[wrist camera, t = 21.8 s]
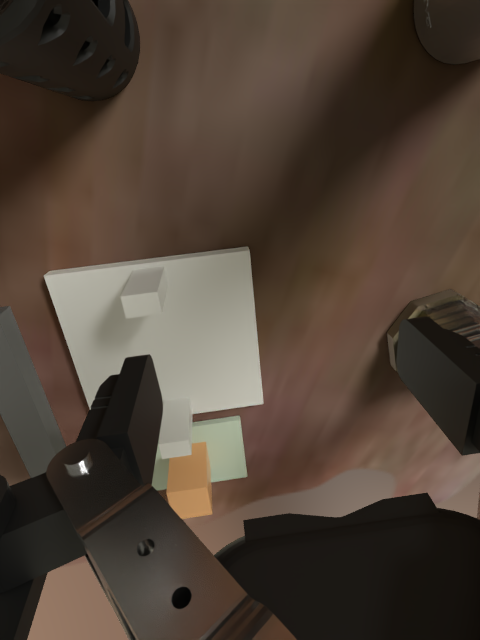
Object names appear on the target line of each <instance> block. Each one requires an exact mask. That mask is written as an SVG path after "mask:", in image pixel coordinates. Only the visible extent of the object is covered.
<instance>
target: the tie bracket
mask: <svg viewBox="0 0 480 640" xmlns="http://www.w3.org/2000/svg"><path fill="white" fill-rule="evenodd" d="M44 278H45V281H46V284H47V287H48V290H49V293H50V296H51V298H52V301H53V304H54V307H55V310H56V313H57V316H58V319H59V322H60V325H61V327H62V330H63V333H64V336H65V339H66V342H67V345H68V348H69V351H70V354H71V356H72V359H73V362H74V365H75V368H76V371H77V374H78V377H79V380H80V383H81V385H82V388H83V391H84V394H85V397H86V400H87V403H88V406H89V409H90V410H91V405H92V403H93V400H95V396H96V393H97V391H98V389H99V386H100V385H101V384H102V383H103V382H104V381H105V380H106V379H107V378H108V377H109V376H110V375H116V374H120V371H121V368H122V366H123V363H124V360H125V358H126V357H133V356H140V355H147V354H150V355H151V357H152V359H153V363H154V367H155V371H156V375H157V379H158V383H159V387H160V390H161V395H162V401H163V415H162V421H161V429H160V436H159V444H158V445H159V449H160V452H161V456H162V459H167V458H174V457H180V456H187V455H192V414H197V413H204V412H211V411H218V410H225V409H232V408H238V407H245V406H252V405H259V404H263V394H262V382H261V371H260V360H259V349H258V338H257V326H256V315H255V304H254V293H253V282H252V271H251V259H250V250H249V248H248V246H247V247H239V248H231V249H223V250H215V251H207V252H199V253H191V254H183V255H174V256H166V257H158V258H150V259H142V260H134V261H126V262H118V263H110V264H102V265H94V266H86V267H78V268H70V269H62V270H53V271H49V272H48V273H46V274H45V275H44Z"/></svg>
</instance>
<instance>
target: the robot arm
mask: <svg viewBox="0 0 480 640" xmlns="http://www.w3.org/2000/svg"><path fill="white" fill-rule="evenodd" d="M414 21H415V27H416V32H417V34H418V37H419V39H420V42H421V44H422V45H423V46H424V48H425V49H426V51H427V52H428V53H429V54H430V55H431V56H433V57H434V58H435V59H437V60H439V61H441V62H443V63H448V64H463V63H468V62H471V61H475V60H478V59H480V0H414ZM396 364H397V370H398V374H399V376H400V378H401V380H402V381H403V383H404V384H405V385H406V386H407V388H408V389H409V390H410V391H411V393H412V394H413V395H414V396H415V397H416V399H417V400H418V401H419V402H420V404H421V405H422V406H423V407H424V409H425V410H426V411H427V412H428V414H429V415H430V416H431V417H432V419H433V420H434V421H435V422H436V424H437V425H438V426H439V427H440V429H441V430H442V431H443V432H444V434H445V435H446V436H447V437H448V439H449V440H450V441H451V442H452V444H453V445H454V446H455V447H456V449H457V450H458V451H459V452H460V454H461V455H469V454H475V453H480V348H478V347H475V345H474V344H473V343H472V342H471V341H469V340H468V339H467V338H465V337H464V336H462V335H460V334H458V333H455V332H453V331H450V330H448V329H443V328H442V327H441V326H440V325H438V324H437V323H436V322H435V321H433V320H432V319H431V318H430V317H427V316H425V317H418V318H411V319H404V320H402V321H401V323H400V326H399V336H398V348H397V360H396ZM162 415H163V401H162V395H161V390H160V387H159V383H158V379H157V375H156V371H155V367H154V363H153V359H152V357H151V355H150V354H147V355H140V356H133V357H126V358H125V360H124V363H123V366H122V368H121V371H120V374H116V375H110V376H109V377H108V378H107V379H106V380H105V381H104V382H103V383H102V384H101V385H100V386H99V389H98V391H97V393H96V396H95V400H93V403H92V405H91V410H89V412H88V415H87V417H86V419H85V422H84V424H83V426H82V429H81V431H80V433H79V436H78V438H77V440H76V442H75V443H72V444H70V445H68V446H67V447H65V448H63V449H62V450H61V451H59V452H58V453H57V454H56V455H55V456H54V457H53V458H52V460H51V461H50V463H49V465H48V467H47V471H46V472H45V473H43V474H40V475H38V476H35V477H33V478H30V479H28V480H25V481H22V482H20V483H17V484H15V485H12V486H9V484H8V482H7V481H6V479H5V478H4V477H3V476H1V475H0V640H27V638H28V635H29V631H30V628H31V625H32V621H33V618H34V615H35V612H36V608H37V605H38V602H39V599H40V595H41V592H42V589H43V585H44V582H45V579H46V575H47V573H48V572H49V571H51V570H53V569H56V568H58V567H60V566H62V565H64V564H67V563H69V562H71V561H73V560H75V559H77V558H80V557H82V556H85V558H86V559H87V561H88V563H89V565H90V567H91V569H92V571H93V572H94V574H95V576H96V578H97V580H98V582H99V584H100V585H101V587H102V589H103V591H104V593H105V595H106V597H107V599H108V600H109V602H110V604H111V606H112V608H113V610H114V612H115V613H116V615H117V617H118V619H119V621H120V623H121V625H122V627H123V629H124V631H125V633H126V635H127V637H128V639H129V640H480V493H479V503H478V513H477V518H474V517H471V516H469V515H466V514H463V513H459V512H456V511H451V510H446V509H441V508H436V506H435V504H434V503H433V501H432V499H431V498H430V496H429V495H428V493H422V494H415V495H409V496H402V497H395V498H389V499H383V500H380V501H378V502H375V503H373V504H371V505H369V506H366V507H364V508H362V509H359V510H357V511H355V512H353V513H350V514H348V515H346V516H343V517H337V518H334V517H324V516H311V515H301V514H282V515H275V516H269V517H262V518H255V519H249V520H244V530H245V536H243V537H241V538H239V539H237V540H235V541H233V542H231V543H230V544H228V545H226V546H225V547H224V548H222V549H221V550H220V551H219V552H217V553H216V554H215V555H213V554H212V553H211V552H210V551H209V550H208V549H207V547H206V546H205V545H204V544H203V543H202V542H201V541H200V540H199V538H198V537H197V536H196V535H195V534H194V533H193V531H192V530H191V529H190V528H189V527H188V526H187V525H186V523H185V522H184V521H183V520H182V519H181V518H180V517H179V516H178V514H177V513H176V512H175V511H174V510H173V509H172V508H171V506H170V505H169V504H168V503H167V502H166V501H165V500H164V498H163V497H162V496H161V495H160V494H159V493H158V492H157V490H156V489H155V488H154V487H153V486H152V479H153V473H154V466H155V460H156V454H157V447H158V441H159V434H160V428H161V421H162Z"/></svg>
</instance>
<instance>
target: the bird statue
mask: <svg viewBox="0 0 480 640" xmlns="http://www.w3.org/2000/svg"><path fill="white" fill-rule="evenodd" d="M425 316H427V317H430V318H431V319H432V320H433V321H435V322H436V323H437V324H438V325H440V326H441V327H442V328H443V329H448V330H450V331H453V332H455V333H458V334H460V335H462V336H464V337H465V338H467V339H468V340H469V341H471V342H472V343H473V344H474V345H475V347H478V348H480V306H478V305H476V304H475V303H473V302H472V301H470V300H468V299H467V298H465V297H464V296H462V295H460V294H459V293H457V292H455V291H454V290H452V289H449V290H446V291H443V292H440V293H436V294H433V295H430V296H427V297H423V298H420V299H417V300H414V301H411V302H410V303H409V304H408V306H407V307H406V308H405V310H404V311H403V312H402V313H401V315H400V316H399V317H398V319H397V320H396V321H395V322H394V324H393V325H392V326H391V328H390V329H389V330H388V332H387V338H388V347H389V355H390V364H391V366H392V367H393V368H394V369H395V371H396V372H398V370H397V364H396V360H397V348H398V336H399V326H400V323H401V321H402V320H404V319H411V318H418V317H425Z"/></svg>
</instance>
